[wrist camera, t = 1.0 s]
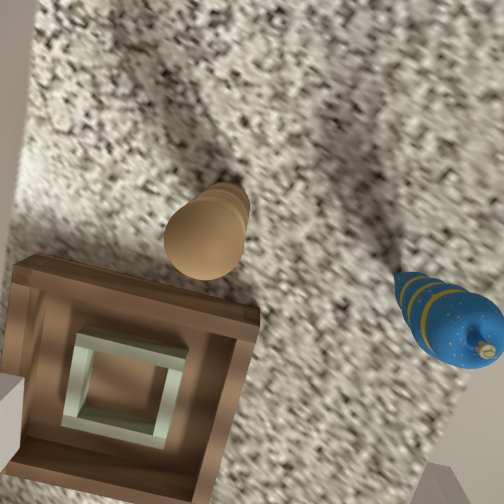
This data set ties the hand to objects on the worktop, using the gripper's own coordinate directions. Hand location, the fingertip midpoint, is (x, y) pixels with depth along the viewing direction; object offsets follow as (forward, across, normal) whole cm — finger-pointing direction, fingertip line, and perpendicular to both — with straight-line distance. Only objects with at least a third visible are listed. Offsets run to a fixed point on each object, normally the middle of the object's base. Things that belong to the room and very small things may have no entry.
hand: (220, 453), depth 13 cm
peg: (+25, -3, +3) cm, 25 cm away
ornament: (+25, +14, +1) cm, 29 cm away
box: (+24, -9, -15) cm, 30 cm away
